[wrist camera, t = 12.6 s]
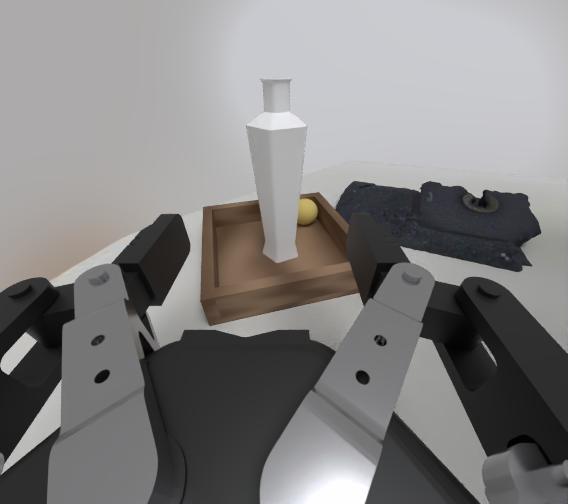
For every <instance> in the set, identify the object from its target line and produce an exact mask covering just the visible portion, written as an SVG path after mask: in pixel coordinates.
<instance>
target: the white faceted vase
mask: <svg viewBox="0 0 568 504" xmlns="http://www.w3.org/2000/svg"><path fill="white" fill-rule="evenodd" d="M260 80H261V81H262V83H263V96H264V112H263V113H262V114H260V115H259V116H258V117H256V118H255V119H253V120H252V121H251V122H249V123H248V124H247V125H246V128H247V134H248V140H249V146H250V152H251V158H252V164H253V170H254V176H255V182H256V187H257V194H258V200H259V206H260V212H261V218H262V224H263V230H264V236H265V244H264V248H263V254H265V255H266V256H267V257H269V258H270V259H272V260H273V261H274V262H276V263H280V262H283V261H286V260H290V259H293V258H296V257H298V252H297V248H296V244H295V239H296V229H297V219H298V209H299V200H300V190H301V180H302V170H303V160H304V151H305V140H306V131H307V125H306V124H305V123H303V122H302V121H301V120H300V119H299V118H298V117H296V116H295V115H294V114H293V113H291V112H290V81H291V78H261V79H260Z"/></svg>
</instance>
